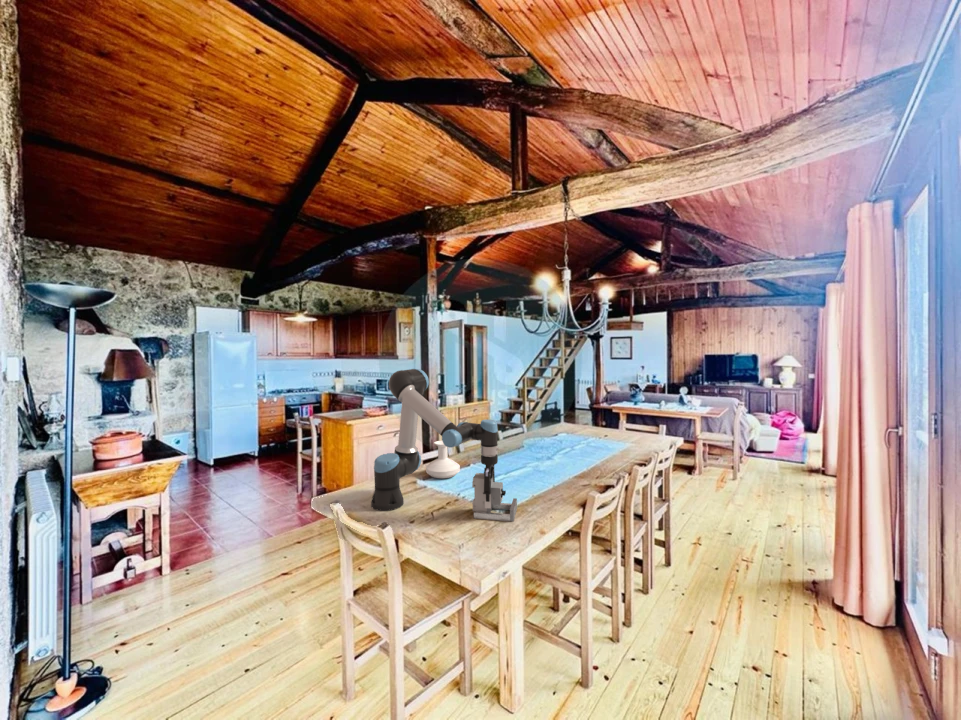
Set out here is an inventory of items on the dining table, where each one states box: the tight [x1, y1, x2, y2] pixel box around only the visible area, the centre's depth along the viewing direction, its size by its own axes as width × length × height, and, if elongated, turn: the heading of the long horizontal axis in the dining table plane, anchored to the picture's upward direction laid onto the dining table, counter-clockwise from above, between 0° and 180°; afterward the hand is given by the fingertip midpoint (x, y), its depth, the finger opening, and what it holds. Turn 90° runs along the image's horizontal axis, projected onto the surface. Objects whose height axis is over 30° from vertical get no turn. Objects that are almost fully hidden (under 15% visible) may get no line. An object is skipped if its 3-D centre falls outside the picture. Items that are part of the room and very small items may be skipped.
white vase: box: [425, 440, 461, 479], centre depth 237 cm, size 20×20×19 cm
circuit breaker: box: [471, 472, 506, 513], centre depth 184 cm, size 8×14×15 cm, turn 78°
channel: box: [473, 497, 518, 522], centre depth 184 cm, size 18×13×5 cm
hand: (489, 504), depth 184 cm, fingers closed on circuit breaker, 7 cm apart
